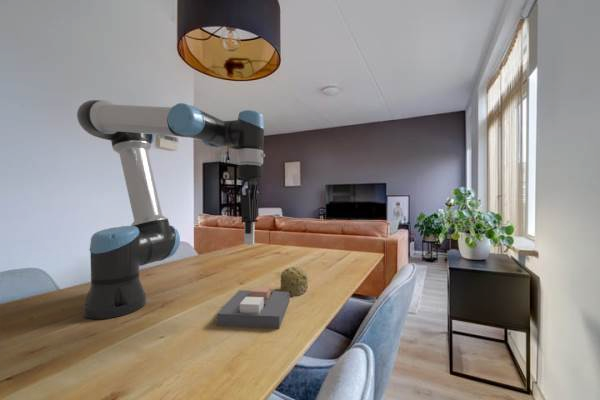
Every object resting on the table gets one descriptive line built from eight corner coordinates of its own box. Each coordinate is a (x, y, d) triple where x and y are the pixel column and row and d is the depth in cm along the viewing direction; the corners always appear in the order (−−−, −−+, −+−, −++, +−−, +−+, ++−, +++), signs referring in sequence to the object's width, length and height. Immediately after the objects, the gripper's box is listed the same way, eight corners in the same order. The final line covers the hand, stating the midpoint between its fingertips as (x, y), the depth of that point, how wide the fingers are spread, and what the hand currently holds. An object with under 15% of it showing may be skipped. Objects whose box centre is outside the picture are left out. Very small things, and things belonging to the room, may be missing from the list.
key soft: (239, 317, 68) (239, 303, 68) (245, 309, 73) (245, 296, 73) (258, 318, 67) (258, 304, 67) (263, 310, 72) (263, 297, 72)
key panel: (216, 325, 67) (216, 313, 67) (239, 299, 84) (239, 290, 84) (279, 328, 65) (279, 316, 65) (289, 301, 82) (289, 291, 82)
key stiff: (250, 303, 77) (250, 291, 77) (254, 296, 82) (254, 285, 82) (267, 304, 76) (267, 291, 76) (270, 297, 81) (270, 286, 81)
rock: (276, 301, 92) (270, 281, 87) (290, 277, 100) (285, 257, 95) (301, 308, 88) (296, 287, 83) (313, 282, 96) (310, 262, 91)
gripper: (257, 162, 72) (255, 248, 73) (267, 167, 85) (266, 240, 86) (230, 162, 73) (229, 247, 74) (245, 167, 86) (243, 239, 87)
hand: (249, 243), depth 80 cm, fingers closed
